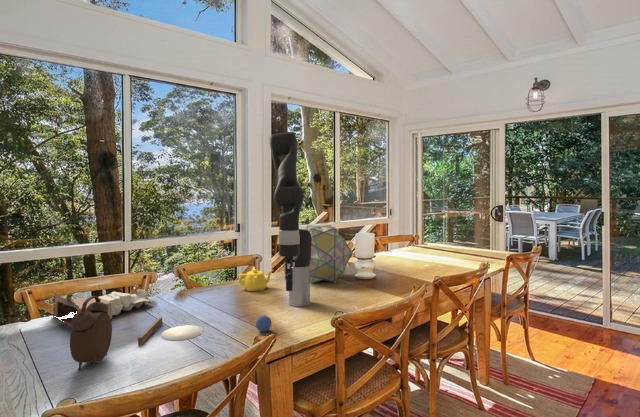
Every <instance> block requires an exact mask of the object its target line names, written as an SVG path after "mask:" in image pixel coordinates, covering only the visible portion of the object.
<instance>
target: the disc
mask: <svg viewBox="0 0 640 417" xmlns="http://www.w3.org/2000/svg"><path fill="white" fill-rule="evenodd" d="M202 333H203V328H202V327H201V326H199V325H198V326H197V325H194V324H193V325H192V324H190V325H187V324H185V325H178V326H174V327H169V328H168V329H166V330H164V331H162V332H161V338H162V339H164V340H166V341H172V342H173V341H178V342H179V341H186V340H191V339H193V338H196V337H198V336H200V335H201V334H202Z"/></svg>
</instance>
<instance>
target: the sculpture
mask: <svg viewBox="0 0 640 417" xmlns="http://www.w3.org/2000/svg"><path fill="white" fill-rule="evenodd" d="M305 230H308V231H309V232H310V233H311V239H312V243H311V259H310V285H311V284H314V283H317V282H320V281H324V282H330V283H331V282H332V283H337V280H338V279H339V277H340V276H341V275H344V274H345V271H346V266H347V264H348V263H349V261H350V260H351V257H352V256H353V255H354V252H352V249H351V248H350V247H349V245H348V244H347V242H346V240H345V238H344V237H343V236H342V235H341V233H339V231H338V230H337V228H336V226H334V227H333V226H332V224H329V225H309V224H307V226H306V227H305ZM294 257H296V256H294Z"/></svg>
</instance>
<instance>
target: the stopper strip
mask: <svg viewBox="0 0 640 417" xmlns="http://www.w3.org/2000/svg"><path fill="white" fill-rule="evenodd" d="M162 324H163V317H162V316H159V317H158V318H157V319H155V320H154V321H153V322H152V323H151V324H150V325H149V326H148V327H147V328H146V329H145V330H144V331H143V332H142V333H141V334H140V335H139V336H138V337H137V345H138V346H142V345H143V344H144V343H145V342H146V341H148V339H149V338H150V337H151V336H152V335H153V334H154V333H155V332H156V331H157V330H158V329H159V328H160V327H161V325H162Z"/></svg>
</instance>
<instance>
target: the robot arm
mask: <svg viewBox="0 0 640 417" xmlns="http://www.w3.org/2000/svg"><path fill="white" fill-rule="evenodd" d="M269 148H270V152H271V157H272V161H273V166H274V170H275V177H276V183H277V185H276V188H275V190H274V192H273V201H274V203H275V205H277V206H279V207H280V208H281V213H280V215H278V216H279V217H278V226H279V227H278V228H279V230H278V255H279V257H282V258H283V257H284V258H285V259H284V260H283V269H284V270H283V271H284V272H283V273H284V275H285V276H284V280H285V291H286V292H288V304H289V305H290V306H291V307H305V306H310V305H311V282H310V259H311V243H312V239H311V233H310V232H309V231H308V230H305V229H304V228H303V229H302V228H299V227H300V224H299V223H300V214H301V213H300V212H301V208H302V206H303V201H304V197H305V193H304V190H303V188H301V187H300V183H299V182H298V177H297V163H298V162H297V161H298V150H299V149H298V140H297V136H296V134H295V133H294V132H292V131H287V132H279V133H273V134H271V135H270V136H269ZM283 156H286V157H285V158H284V159H283V160H282V158H281V157H283ZM294 256H296V257H294Z"/></svg>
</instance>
